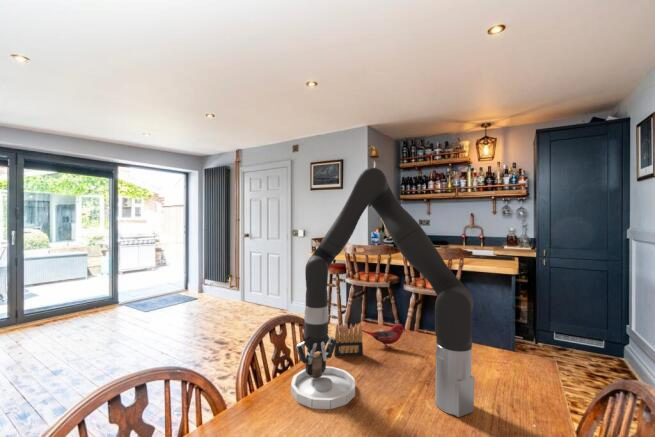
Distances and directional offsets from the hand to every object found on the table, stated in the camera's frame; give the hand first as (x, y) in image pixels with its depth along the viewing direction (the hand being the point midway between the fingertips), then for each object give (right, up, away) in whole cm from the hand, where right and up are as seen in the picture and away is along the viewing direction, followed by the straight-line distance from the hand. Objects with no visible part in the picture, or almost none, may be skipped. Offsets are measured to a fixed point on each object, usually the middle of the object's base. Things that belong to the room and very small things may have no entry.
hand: (315, 372), depth 102 cm
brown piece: (0, -1, 0) cm, 1 cm away
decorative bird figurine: (+26, -3, +26) cm, 37 cm away
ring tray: (+2, -3, -5) cm, 6 cm away
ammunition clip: (+12, -3, +19) cm, 22 cm away
